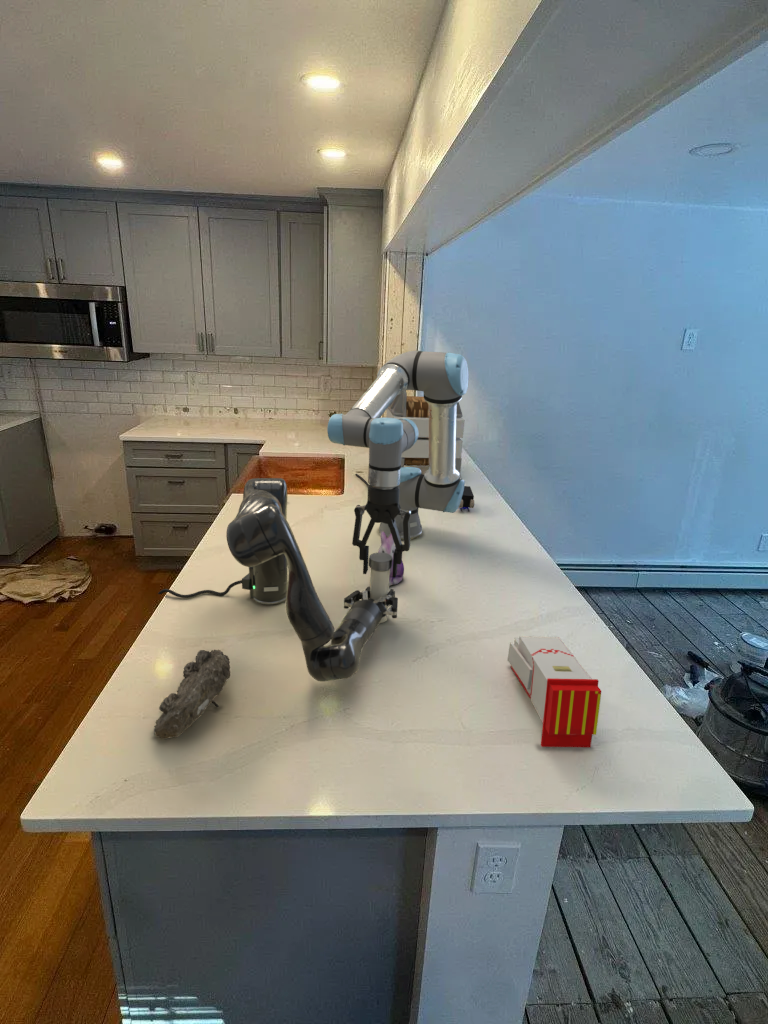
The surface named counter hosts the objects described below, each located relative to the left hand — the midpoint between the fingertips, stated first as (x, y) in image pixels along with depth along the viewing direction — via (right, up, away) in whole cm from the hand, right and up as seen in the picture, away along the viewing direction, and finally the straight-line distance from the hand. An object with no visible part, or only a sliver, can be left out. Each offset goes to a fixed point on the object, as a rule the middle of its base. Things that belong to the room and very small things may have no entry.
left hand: (382, 590), depth 145 cm
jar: (-1, -7, 0) cm, 7 cm away
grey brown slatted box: (+18, +39, +130) cm, 136 cm away
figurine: (+2, 0, +20) cm, 20 cm away
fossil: (-36, -18, -34) cm, 53 cm away
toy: (+34, -19, -28) cm, 48 cm away
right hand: (0, +5, -4) cm, 7 cm away
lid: (0, +9, -6) cm, 11 cm away
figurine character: (+33, +22, +84) cm, 93 cm away
